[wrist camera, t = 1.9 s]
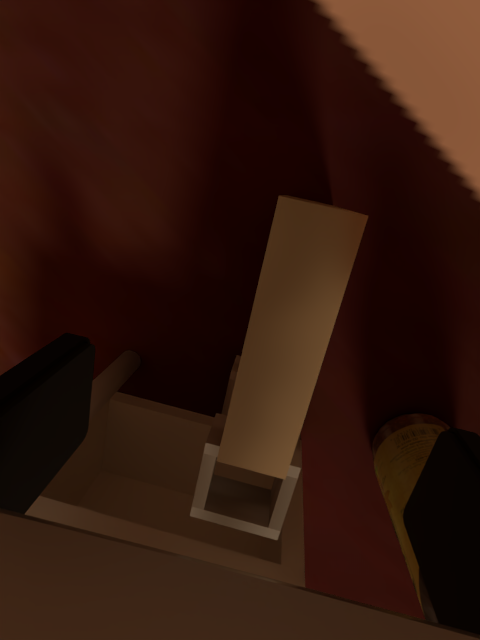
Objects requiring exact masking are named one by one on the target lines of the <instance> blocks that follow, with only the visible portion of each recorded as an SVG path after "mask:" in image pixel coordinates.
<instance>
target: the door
mask: <svg viewBox="0 0 480 640" xmlns="http://www.w3.org/2000/svg"><path fill="white" fill-rule="evenodd" d="M367 219H368V216H367V215H363V214H360V213H357V212H353V211H350V210H346V209H343V208H340V207H336V206H333V205H329V204H324V203H320V202H315V201H311V200H306V199H302V198H298V197H293V196H289V195H281V196H279V197H278V202H277V206H276V210H275V214H274V219H273V223H272V227H271V231H270V236H269V240H268V244H267V248H266V253H265V257H264V261H263V265H262V270H261V274H260V278H259V282H258V287H257V291H256V295H255V300H254V304H253V308H252V312H251V317H250V321H249V325H248V329H247V334H246V338H245V342H244V346H243V351H242V355H241V356H238V355H237V356H236V359H235V362H234V364H233V367H232V370H231V374H230V379H229V383H228V387H227V392H226V396H225V400H224V405H223V409H222V414H219V413H216V415H215V418H214V421H213V424H212V426H211V429H210V432H209V435H208V438H207V441H206V444H205V448H204V453H203V458H202V462H201V467H200V471H199V476H198V480H197V485H196V490H195V494H194V499H193V503H192V508H191V512H190V516H192V517H195V518H199V519H203V520H206V521H210V522H213V523H217V524H220V525H224V526H228V527H231V528H235V529H238V530H242V531H245V532H249V533H253V534H256V535H260V536H263V537H267V538H270V539H274V540H278V537H279V534H280V531H281V528H282V525H283V522H284V519H285V516H286V513H287V510H288V507H289V504H290V501H291V498H292V494H293V491H294V488H295V485H296V482H297V479H298V476H299V473H300V470H301V443H300V432H301V428H302V425H303V422H304V419H305V416H306V413H307V409H308V406H309V403H310V400H311V397H312V393H313V390H314V387H315V384H316V381H317V378H318V374H319V371H320V368H321V365H322V362H323V359H324V355H325V352H326V349H327V346H328V343H329V340H330V336H331V333H332V330H333V327H334V324H335V321H336V317H337V314H338V311H339V308H340V305H341V301H342V298H343V295H344V292H345V289H346V286H347V282H348V279H349V276H350V273H351V270H352V267H353V263H354V260H355V257H356V254H357V251H358V248H359V244H360V241H361V238H362V235H363V232H364V229H365V225H366V222H367ZM217 461H218V462H221V463H225V464H229V465H233V466H236V467H240V468H244V469H247V470H251V471H255V472H258V473H262V474H266V475H270V476H273V477H275V479H274V482H273V485H272V489H271V490H269V489H266V488H262V487H258V486H255V485H251V484H247V483H244V482H240V481H236V480H233V479H229V478H225V477H222V476H218V475H214V472H215V467H216V463H217Z"/></svg>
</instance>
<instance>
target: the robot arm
mask: <svg viewBox="0 0 480 640" xmlns="http://www.w3.org/2000/svg"><path fill="white" fill-rule="evenodd" d="M94 359H95V346H94V345H92V344H90V340H89V339H88V338H86V337H82V336H78V335H74V334H70V333H65V334H63V335H62V336H60V337H59V338H57V339H56V340H54V341H53V342H51V343H49V344H48V345H46V346H45V347H43V348H42V349H40V350H39V351H37V352H36V353H34V354H33V355H31V356H30V357H28V358H27V359H25V360H23V361H22V362H20V363H19V364H17V365H16V366H14V367H13V368H11V369H10V370H8V371H7V372H5V373H4V374H2V375H1V376H0V640H480V437H479V435H477V434H476V433H473V432H469V431H465V430H461V429H457V428H453V427H452V428H449V429H448V430H447V431H442V432H441V433H440V434H439V436H438V438H437V440H436V442H435V444H434V446H433V448H432V450H431V453H430V455H429V457H428V459H427V461H426V463H425V465H424V468H423V470H422V472H421V474H420V476H419V478H418V480H417V482H416V485H415V487H414V489H413V491H412V493H411V495H410V497H409V500H408V502H407V504H406V506H405V508H404V512H403V522H404V526H405V528H406V531H407V534H408V537H409V540H410V543H411V546H412V548H413V551H414V554H415V557H416V560H417V563H418V566H419V569H420V571H421V574H422V577H423V580H424V583H425V586H426V589H427V591H428V594H429V597H430V600H431V603H432V606H433V609H434V611H435V614H436V617H437V620H438V623H439V624H438V623H435V622H431V621H427V620H424V619H420V618H416V617H413V616H409V615H405V614H402V613H398V612H394V611H390V610H387V609H383V608H379V607H376V606H372V605H368V604H365V603H361V602H357V601H354V600H350V599H346V598H343V597H339V596H335V595H332V594H328V593H324V592H320V591H316V590H313V589H309V588H305V587H301V586H298V585H294V584H290V583H286V582H283V581H279V580H275V579H271V578H268V577H264V576H260V575H256V574H253V573H249V572H245V571H241V570H237V569H234V568H230V567H226V566H222V565H219V564H215V563H211V562H207V561H203V560H200V559H196V558H192V557H188V556H185V555H181V554H177V553H173V552H169V551H165V550H161V549H157V548H154V547H150V546H146V545H142V544H138V543H134V542H130V541H127V540H123V539H119V538H115V537H111V536H107V535H103V534H100V533H96V532H92V531H88V530H84V529H80V528H76V527H72V526H69V525H65V524H61V523H57V522H53V521H49V520H45V519H41V518H37V517H33V516H29V515H25V513H26V512H27V510H28V509H29V508H30V507H31V505H32V504H33V503H34V502H35V500H36V499H37V498H38V497H39V495H40V494H41V493H42V492H43V490H44V489H45V488H46V487H47V486H48V484H49V483H50V482H51V481H52V479H53V478H54V477H55V476H56V474H57V473H58V472H59V471H60V469H61V468H62V467H63V466H64V464H65V463H66V462H67V461H68V459H69V458H70V457H71V456H72V454H73V453H74V452H75V451H76V449H77V448H78V447H79V446H80V444H81V443H82V442H83V441H84V439H85V437H86V435H87V432H88V427H89V416H90V404H91V393H92V382H93V370H94Z"/></svg>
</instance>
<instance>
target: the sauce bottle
mask: <svg viewBox="0 0 480 640" xmlns="http://www.w3.org/2000/svg"><path fill="white" fill-rule="evenodd" d="M449 428H450V427H449V426H448V425H447V424H445V423H444V422H443V421H441V420H439V419H438V418H436V417H434V416H433V415H428V414H422V413H414V414H405V415H401V416H398V417H395V418H394V419H392V420H389V421H387V422H386V423H385V425H383V426H382V427H381V428H380V429H379V431H378V433H377V434H376V435H375V437H374V440H373V444H372V451H373V460H374V468H375V473H376V476H377V479H378V482H379V484H380V487H381V490H382V494H383V497H384V499H385V502H386V505H387V508H388V511H389V514H390V517H391V521H392V524H393V527H394V530H395V533H396V536H397V538H398V540H399V542H400V546H401V549H402V553H403V556H404V558H405V560H406V565H407V567H408V569H409V572H410V575H411V578H412V581H413V585H414V588H415V591H416V593H417V596H418V599H419V602H420V605H421V608H422V610H423V613H424V616H425V619H426V620H427V621H431V622H435V623H438V620H437V617H436V614H435V611H434V609H433V606H432V603H431V600H430V597H429V594H428V591H427V589H426V586H425V583H424V580H423V577H422V574H421V571H420V569H419V566H418V563H417V560H416V557H415V554H414V551H413V548H412V546H411V543H410V540H409V537H408V534H407V531H406V528H405V526H404V522H403V512H404V508H405V506H406V504H407V502H408V500H409V497H410V495H411V493H412V491H413V489H414V487H415V485H416V482H417V480H418V478H419V476H420V474H421V472H422V470H423V468H424V465H425V463H426V461H427V459H428V457H429V455H430V453H431V450H432V448H433V446H434V444H435V442H436V440H437V438H438V436H439V434H440V433H441V432H442V431H447V430H448V429H449ZM438 624H439V623H438Z"/></svg>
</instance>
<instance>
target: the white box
mask: <svg viewBox="0 0 480 640" xmlns="http://www.w3.org/2000/svg"><path fill="white" fill-rule="evenodd" d="M140 364H141V359H140V357H139V355H138V354H137V353H136V352H134V351H131V350H128V351H125V352H123V353H122V354H121V355H120V356H119V357H118V358H117V359H116V360H115V361H114V362H112V363H111V364H110V365H109V366H108V367H107V368H106V369H105V370H104V371H103V372H102V373H101V374H99V375H98V376H97V377H96V378H95V379H94V380H93V382H92V393H91V404H90V416H89V427H88V432H87V435H86V437H85V439H84V441H83V442H82V443H81V444H80V446H79V447H78V448H77V449H76V451H75V452H74V453H73V454H72V456H71V457H70V458H69V459H68V461H67V462H66V463H65V464H64V466H63V467H62V468H61V469H60V471H59V472H58V473H57V474H56V476H55V477H54V478H53V479H52V481H51V482H50V483H49V484H48V486H47V487H46V488H45V489H44V490H43V492H42V493H41V494H40V495H39V497H38V498H37V499H36V500H35V502H34V503H33V504H32V505H31V507H30V508H29V509H28V510H27V512H26V513H25V515H29V516H33V517H37V518H41V519H45V520H49V521H53V522H57V523H61V524H65V525H69V526H72V527H76V528H80V529H84V530H88V531H92V532H96V533H100V534H103V535H107V536H111V537H115V538H119V539H123V540H127V541H130V542H134V543H138V544H142V545H146V546H150V547H154V548H157V549H161V550H165V551H169V552H173V553H177V554H181V555H185V556H188V557H192V558H196V559H200V560H203V561H207V562H211V563H215V564H219V565H222V566H226V567H230V568H234V569H237V570H241V571H245V572H249V573H253V574H256V575H260V576H264V577H268V578H271V579H275V580H279V581H283V582H286V583H290V584H294V585H298V586H301V587H305V566H304V527H303V489H302V450H301V470H300V473H299V476H298V479H297V482H296V485H295V488H294V491H293V494H292V498H291V501H290V504H289V507H288V510H287V513H286V516H285V519H284V522H283V525H282V528H281V531H280V534H279V537H278V540H274V539H270V538H267V537H263V536H260V535H256V534H253V533H249V532H245V531H242V530H238V529H235V528H231V527H228V526H224V525H220V524H217V523H213V522H210V521H206V520H203V519H199V518H195V517H192V516H190V512H191V508H192V503H193V499H194V494H195V490H196V485H197V480H198V476H199V471H200V467H201V462H202V458H203V453H204V448H205V444H206V441H207V438H208V435H209V432H210V429H211V426H212V424H213V421H214V418H215V417H211V416H207V415H204V414H200V413H196V412H192V411H188V410H185V409H181V408H177V407H173V406H170V405H166V404H162V403H158V402H154V401H151V400H147V399H143V398H139V397H136V396H132V395H128V394H124V393H120V392H117V391H118V390H119V388H120V387H121V386H122V385H123V384H124V383H125V382H126V381H127V380H128V378H129V377H130V376H131V375H132V374H133V373H134V372H135V371H136V370H137V369H138V367H139V366H140ZM300 443H301V440H300ZM214 475H218V476H222V477H225V478H229V479H233V480H236V481H240V482H244V483H247V484H251V485H255V486H258V487H262V488H266V489H269V490H271V489H272V485H273V482H274V479H275V477H273V476H270V475H266V474H262V473H258V472H255V471H251V470H247V469H244V468H240V467H236V466H233V465H229V464H225V463H221V462H218V461H217V463H216V467H215V472H214Z"/></svg>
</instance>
